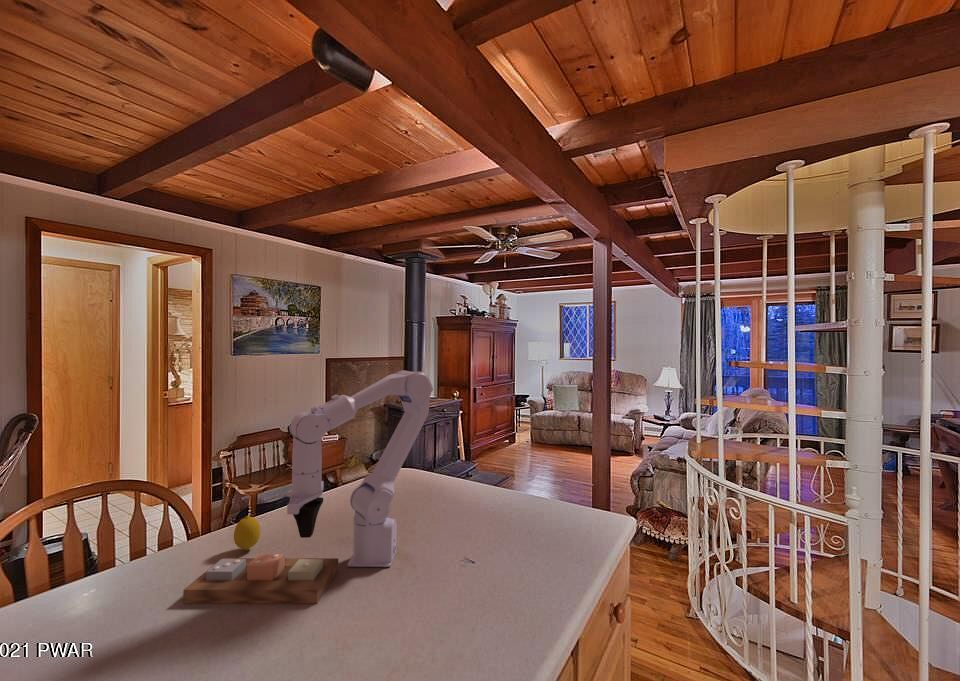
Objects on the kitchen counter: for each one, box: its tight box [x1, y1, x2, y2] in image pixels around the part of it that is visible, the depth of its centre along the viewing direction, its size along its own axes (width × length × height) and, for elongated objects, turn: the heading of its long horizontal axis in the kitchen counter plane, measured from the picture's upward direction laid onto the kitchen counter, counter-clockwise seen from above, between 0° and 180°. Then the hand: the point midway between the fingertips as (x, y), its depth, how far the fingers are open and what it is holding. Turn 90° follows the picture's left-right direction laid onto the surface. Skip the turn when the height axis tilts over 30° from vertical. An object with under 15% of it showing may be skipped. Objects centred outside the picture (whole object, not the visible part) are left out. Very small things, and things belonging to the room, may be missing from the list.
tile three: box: [205, 558, 246, 580], centre depth 85 cm, size 5×5×4 cm
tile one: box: [288, 559, 323, 581], centre depth 86 cm, size 5×5×4 cm
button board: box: [182, 557, 339, 604], centre depth 85 cm, size 25×12×2 cm, turn 90°
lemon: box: [233, 515, 261, 551], centre depth 100 cm, size 6×6×8 cm
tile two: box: [247, 552, 286, 581], centre depth 86 cm, size 5×5×4 cm
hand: (306, 536), depth 89 cm, fingers closed
